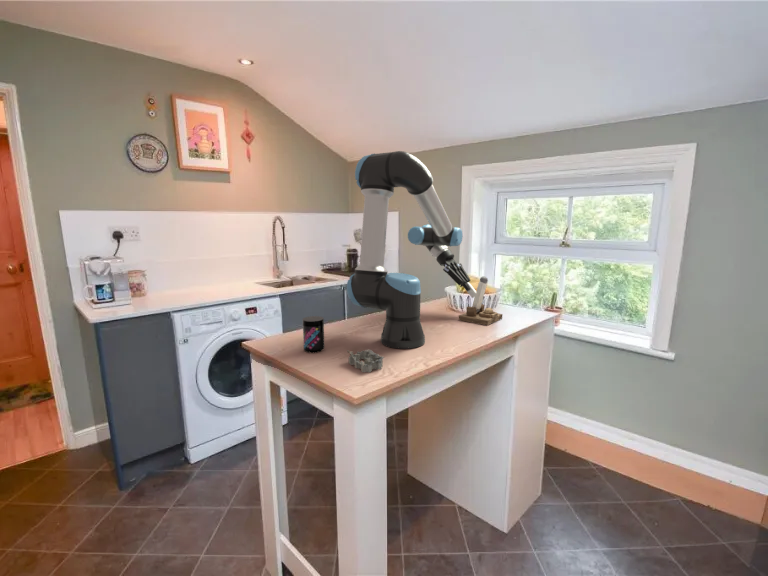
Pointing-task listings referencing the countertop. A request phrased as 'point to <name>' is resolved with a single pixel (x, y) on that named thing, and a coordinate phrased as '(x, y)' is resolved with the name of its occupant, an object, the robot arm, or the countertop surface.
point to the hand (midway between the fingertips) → (475, 295)
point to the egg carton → (366, 360)
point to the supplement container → (313, 333)
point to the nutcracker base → (479, 316)
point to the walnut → (488, 311)
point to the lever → (480, 293)
